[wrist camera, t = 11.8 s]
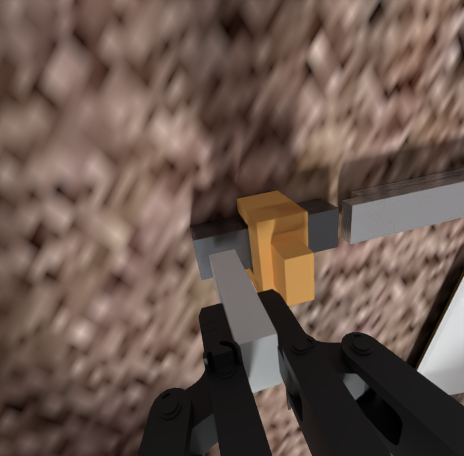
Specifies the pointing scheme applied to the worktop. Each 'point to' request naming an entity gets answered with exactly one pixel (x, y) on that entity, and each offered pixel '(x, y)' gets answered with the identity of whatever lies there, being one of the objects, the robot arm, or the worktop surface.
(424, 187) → the bar
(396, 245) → the worktop surface
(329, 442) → the robot arm
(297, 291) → the orange stepped block
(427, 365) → the plate
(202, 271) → the base
